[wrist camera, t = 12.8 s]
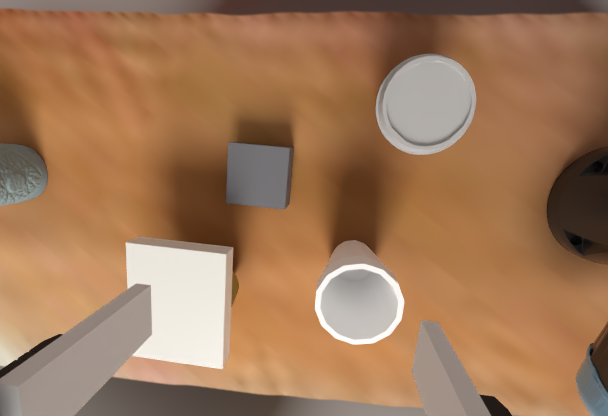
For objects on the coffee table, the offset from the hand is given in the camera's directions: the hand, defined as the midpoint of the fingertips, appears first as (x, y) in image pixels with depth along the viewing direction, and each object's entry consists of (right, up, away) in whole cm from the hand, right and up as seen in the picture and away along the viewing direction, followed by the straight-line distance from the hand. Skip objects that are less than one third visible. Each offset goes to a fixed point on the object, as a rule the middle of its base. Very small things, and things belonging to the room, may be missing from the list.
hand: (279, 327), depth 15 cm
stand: (-5, +11, +30) cm, 32 cm away
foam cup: (+8, -2, +31) cm, 32 cm away
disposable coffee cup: (+14, +18, +26) cm, 35 cm away
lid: (-14, -6, +25) cm, 29 cm away
